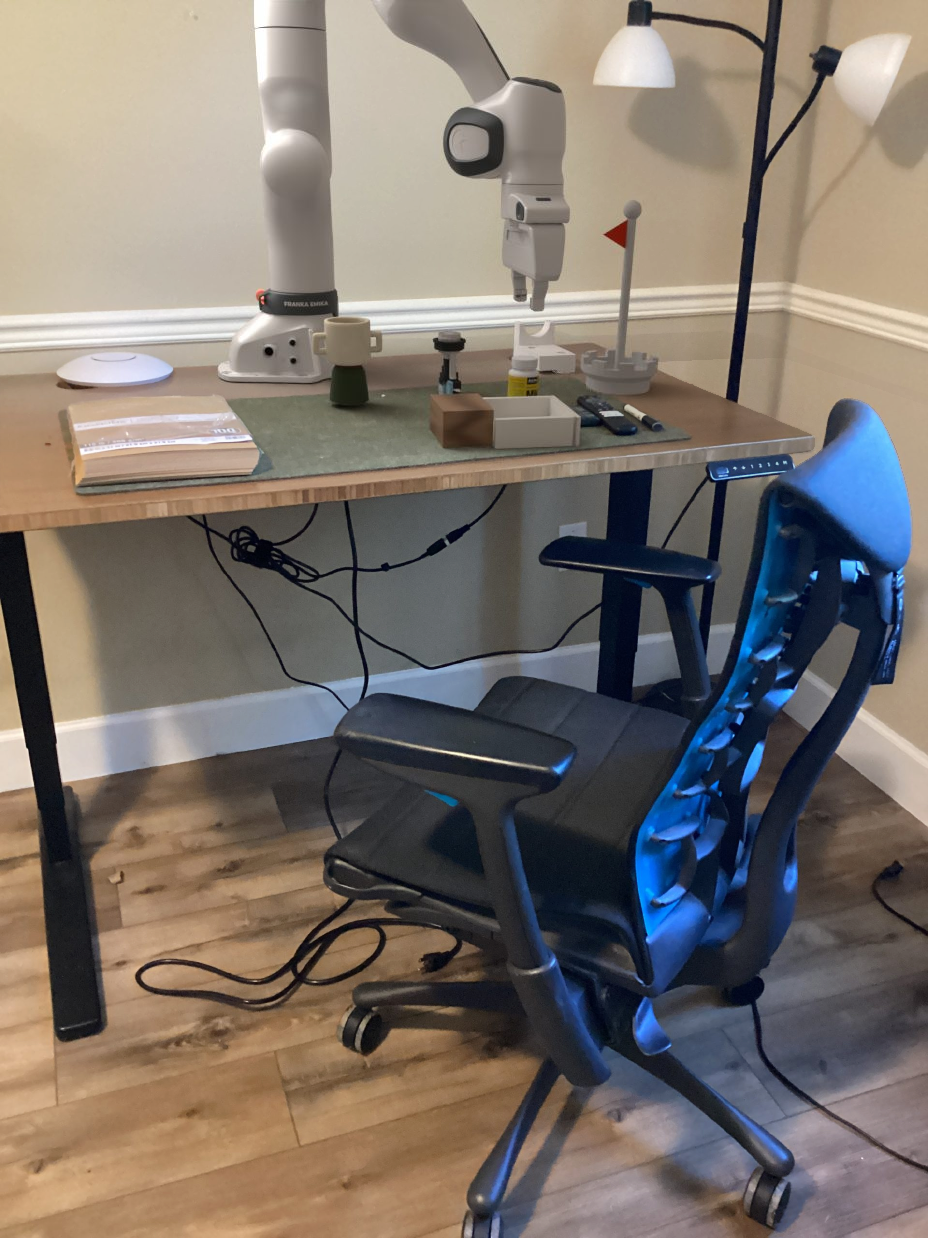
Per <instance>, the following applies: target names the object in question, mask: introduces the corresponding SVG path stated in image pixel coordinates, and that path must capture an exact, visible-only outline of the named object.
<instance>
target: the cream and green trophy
mask: <svg viewBox="0 0 928 1238" xmlns="http://www.w3.org/2000/svg"><path fill="white" fill-rule="evenodd" d="M371 338H375V344H376V345H375V346H374V345H373V346H372V345H371V344H372V341H371ZM319 339H325V348H319ZM312 343H313V353H314V354H315V355H325V357H326V359H327V362H329V363H331V364H335V366H334V367H333V370H332V376H331V378H330V386H329V387H330V388H329V390H330V391H329V401H330V402H332V403H334V404H338V406H359V405H363V404H366V403H367V402H368V401H370V396H369V387H368V381H367V375H366V370H365V368H364V366H363V365H366V364H368V363H370V361H371V358H372V353H377V354H378V353H381V352H382V350H383V333H382V331H381V330H371V320H370V319H369V318H366V317H359V316H339V317H332V318H327V319H325V320H324V333H314V334H313V336H312Z"/></svg>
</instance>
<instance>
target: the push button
mask: <svg viewBox="0 0 928 1238" xmlns="http://www.w3.org/2000/svg"><path fill="white" fill-rule="evenodd" d="M432 342H433V348H434V350H435V351H438V353H440V354H442V355H441V372H439V376H438V379H437V380H438V382H437V384H438V385H437V387H438V388H437V392H438V393H437V394H460V392H461V393H462V386H463V385H462V381H461V379H460V380H459V372H458V371H457V355H458V354H460V353H461V352H462V351H464V350H465V343H467V339H466V338H465V337H464V338H463V337H462V336H461V332H459V331H452V330H451V331H450V330H449V331H448V330H447V331H445V330H443V331H439V332H438V334H437V337H433V339H432Z"/></svg>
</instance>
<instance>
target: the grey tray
mask: <svg viewBox="0 0 928 1238" xmlns="http://www.w3.org/2000/svg"><path fill="white" fill-rule="evenodd" d="M482 398H483V399H484V400H485V401H486V402H487V403H488V404H489V405H490V406H491V407H492V409H493V410H494V420H493V446H492V448H494V449H495V450H498V449H499V450H502V449H524V448H525V449H526V448H543V447H544V448H546V447H547V448H552V447H579V446H580V436H581V421H582V420H581V419H582V417H581V416H580V415H579V414H578V413H576V411H575V410H573V409H571V407H569V406H568V405H566V404H565V403H564V401H561V399H559V398H558V397H556V396H555V395H538V396H519V397H508V396H493V397H492V396H491V397H490V396H489V397H488V396H486V397H482Z"/></svg>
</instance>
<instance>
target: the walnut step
mask: <svg viewBox="0 0 928 1238" xmlns="http://www.w3.org/2000/svg"><path fill="white" fill-rule="evenodd" d="M483 398H484V397H482V396H481V395H480V393H477V392H476V393H459V394H439V393H437V394H433V393H432V394H429V418H430V419H429V430H430V431H431V432H432V433H431V434H432V435H434V437H435V439H436V440H437V441H438V443H439V444H440V446H441V447H442V449H443V448H444V449H445V448H469V447H470V448H471V447H493V420H494V410H493V409H492V407H491V406H490V405H489V404H488V403H487V402H486V401H485V400H484V399H483Z"/></svg>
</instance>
